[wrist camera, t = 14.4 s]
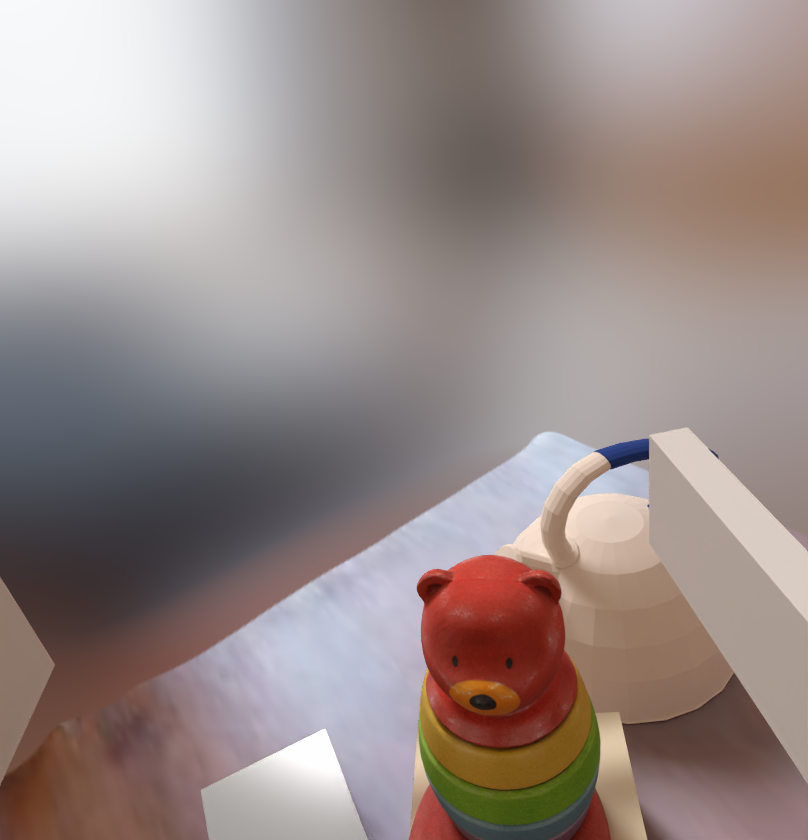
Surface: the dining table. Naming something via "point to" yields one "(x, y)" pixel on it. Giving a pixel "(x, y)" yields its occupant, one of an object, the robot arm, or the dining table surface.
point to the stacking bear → (503, 711)
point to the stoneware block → (285, 798)
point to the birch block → (611, 782)
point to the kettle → (620, 598)
